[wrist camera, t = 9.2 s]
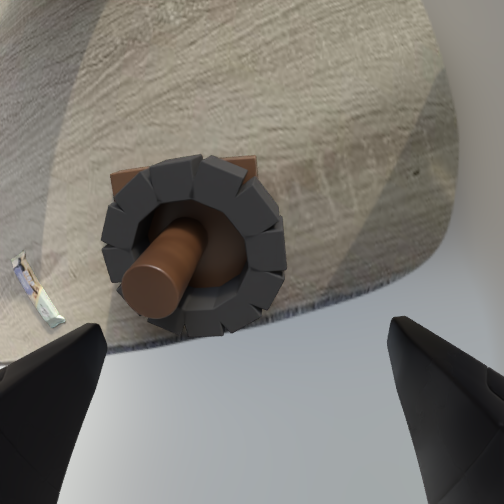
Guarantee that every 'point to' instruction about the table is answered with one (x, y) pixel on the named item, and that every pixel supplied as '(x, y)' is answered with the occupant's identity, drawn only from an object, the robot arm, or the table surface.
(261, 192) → the chunky treaded tire
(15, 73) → the table surface
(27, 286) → the granola bar
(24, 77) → the table surface
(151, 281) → the stand
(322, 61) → the table surface
